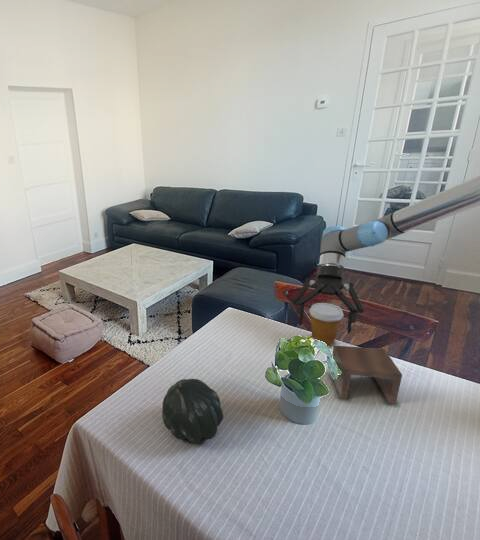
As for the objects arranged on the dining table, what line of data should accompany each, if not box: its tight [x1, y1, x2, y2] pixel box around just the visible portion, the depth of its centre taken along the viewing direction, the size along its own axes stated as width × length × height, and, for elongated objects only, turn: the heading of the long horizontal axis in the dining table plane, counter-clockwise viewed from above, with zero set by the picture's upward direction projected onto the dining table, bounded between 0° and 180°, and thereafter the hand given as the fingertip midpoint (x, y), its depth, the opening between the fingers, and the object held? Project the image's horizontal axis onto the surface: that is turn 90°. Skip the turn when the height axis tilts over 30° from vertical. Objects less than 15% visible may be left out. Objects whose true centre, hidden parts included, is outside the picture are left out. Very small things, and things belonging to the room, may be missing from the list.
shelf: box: [331, 345, 403, 405], centre depth 90 cm, size 12×11×9 cm
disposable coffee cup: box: [308, 302, 345, 347], centre depth 110 cm, size 10×10×12 cm
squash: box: [161, 378, 224, 444], centre depth 82 cm, size 14×15×15 cm
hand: (323, 328), depth 109 cm, fingers open, 13 cm apart
